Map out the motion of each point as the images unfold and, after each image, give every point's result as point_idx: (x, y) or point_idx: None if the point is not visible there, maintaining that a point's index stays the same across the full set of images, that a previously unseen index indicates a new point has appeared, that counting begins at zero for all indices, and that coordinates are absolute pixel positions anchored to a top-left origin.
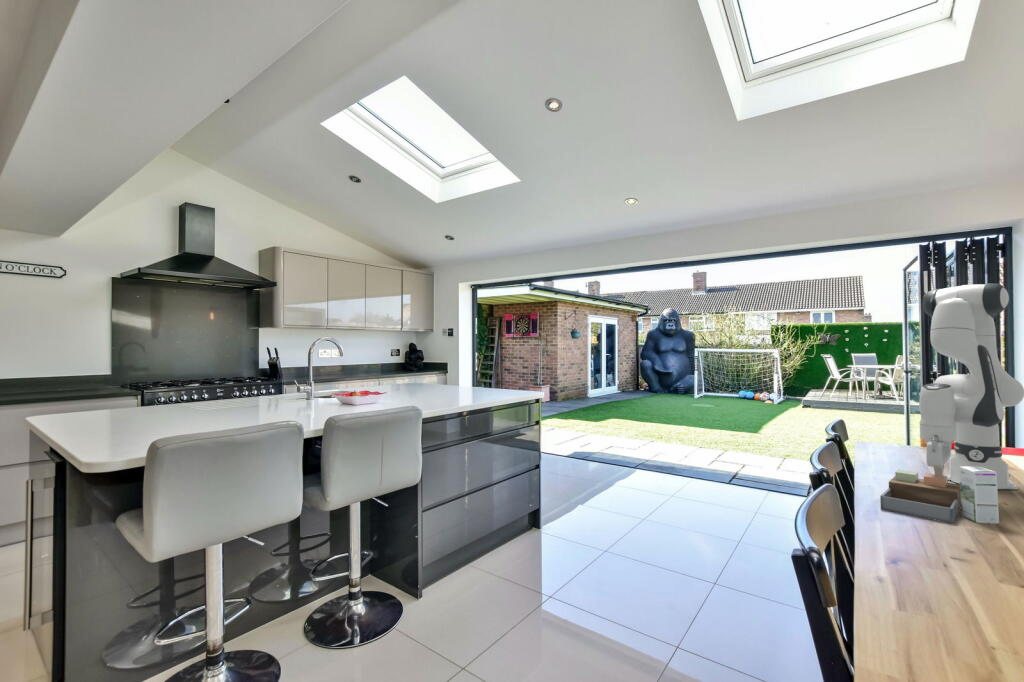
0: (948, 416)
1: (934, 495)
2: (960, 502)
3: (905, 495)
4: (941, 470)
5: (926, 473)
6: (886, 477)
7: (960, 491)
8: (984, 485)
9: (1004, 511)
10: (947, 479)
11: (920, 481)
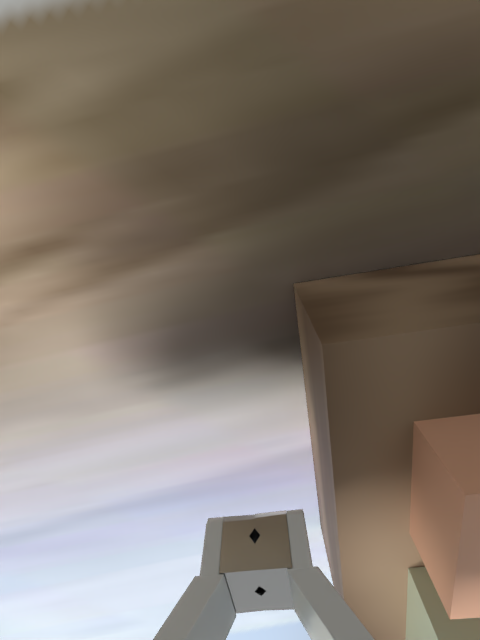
0: None
1: None
2: (433, 274)
3: None
4: (343, 600)
5: (453, 617)
6: (40, 611)
7: (456, 306)
8: None
9: (261, 32)
10: (451, 461)
11: None
